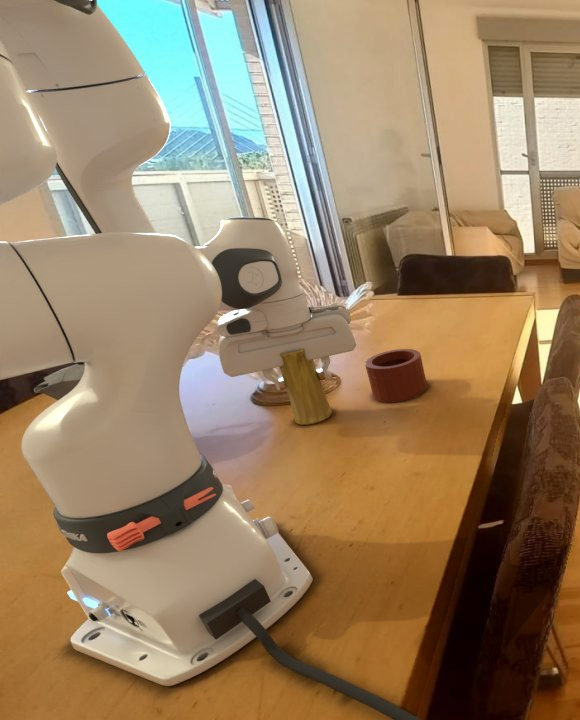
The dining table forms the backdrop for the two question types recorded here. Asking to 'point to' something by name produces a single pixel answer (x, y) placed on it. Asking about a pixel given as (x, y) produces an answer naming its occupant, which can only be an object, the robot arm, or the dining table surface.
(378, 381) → the jar
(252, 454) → the dining table surface
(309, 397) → the bamboo tube section
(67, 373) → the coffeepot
